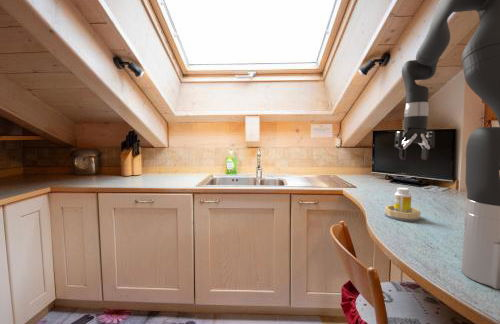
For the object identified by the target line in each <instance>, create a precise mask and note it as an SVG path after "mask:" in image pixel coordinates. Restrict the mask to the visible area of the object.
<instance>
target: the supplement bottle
mask: <svg viewBox="0 0 500 324" xmlns="http://www.w3.org/2000/svg"><path fill="white" fill-rule="evenodd" d="M396 189H397V190H396V192H395V193H394V204H393V205H394V211H397V212H404V213H411V207H412V194H411V193H410V188H408V187H397V188H396Z"/></svg>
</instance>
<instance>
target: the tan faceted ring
mask: <svg viewBox="0 0 500 324" xmlns="http://www.w3.org/2000/svg"><path fill="white" fill-rule="evenodd" d="M384 216H385V217H387V218H389V219H392V220H395V221H401V222H408V223H409V222H419V221H420V220H421V211H420V209H418V208H416V207H412V206H411V213H404V212H397V211H394V204H391V205H390V204H389V205H386V206H385V211H384Z"/></svg>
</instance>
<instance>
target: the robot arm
mask: <svg viewBox="0 0 500 324" xmlns="http://www.w3.org/2000/svg"><path fill="white" fill-rule="evenodd" d="M473 11H475V12H477V14H478V18H479V23H478V26H477V28H476V30H475V31H474V33H473V35H472V36H471V37H470V39H469V41H468V42H467V44H466V45H465V47H464V49H463V51H462V54H461V63H462V70H463V75H464V81H465V83H466V84H467V86H468V87H469V88H470V90H471V91H472V92H473V93H474V94H475V95H476V96H478V98H480V100H482V102H484V103H485V104H486V105H487V106H488V107H489V108H490V109H491V111H492V113H493V114H494V115H495V117H496V119H497V123H498V125H499V126H484V127H478V128H476V129H474V130H473V131H472V132H471V134H470V135H469V137H468V138H467V143H466V145H465V146H466V147H465V181H464V182H465V187H466V192H467V193H466V204H465V205H466V206H465V217H464V231H463V241H462V254H461V256H462V258H461V265H460V266H461V268H460V269H461V273H462V274H463V275H464V276H466V277H467V278H469V279H470V280H473V281H475V282H478V283H480V284H482V285H487V286H489V287H491V288H494V289H495V290H499V289H500V0H438V3H437V6H436V9H435V11H434V14H433V17H432V20H431V23H430V25H429V28H428V30H427V33H426V34H425V37H424V40H423V41H422V43H421V45H420V46H419V47H418V50H417V52H416V54H415V59H413V60H412V59H411V60H408V61H406V62H405V63H404V64H403V65H402V68H401V77H402V81H403V83H404V87H405V88H404V89H405V106H404V115H403V117H404V118H403V119H404V120H403V129H404V131H402V130H400V131H398V130H397V131H395V134H394V135H395V137H394V146H393V147H394V148H397V149H398V150H399V152H398V153H399V154H398V156H399V159H400V160H406V159H407V148H408V147H409V145H411V144H418V145H419V146H420V147H421V157H420V158H421V160H426V161H427V160H428V158H429V153H430V150H431V149H433V148H435V143H436V139H435V138H436V137H435V136H436V135H435V134H436V132H435V131H427V128H428V124H429V110H430V109H429V108H430V107H429V92H430V88H429V87H428V86H425V85H420V84H417V82H416V81H427V80H430V79H432V78H433V77H434V76H435V75H436V72H437V66H438V63H439V60H440V58H441V56H442V55H443V54H444V52H445V50H447V48H448V46H449V44H450V41H451V31H450V28H449V24H448V20H449V19H450V16H451V15H452V14H453V13H462V12H473ZM403 138H404V139H403Z"/></svg>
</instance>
